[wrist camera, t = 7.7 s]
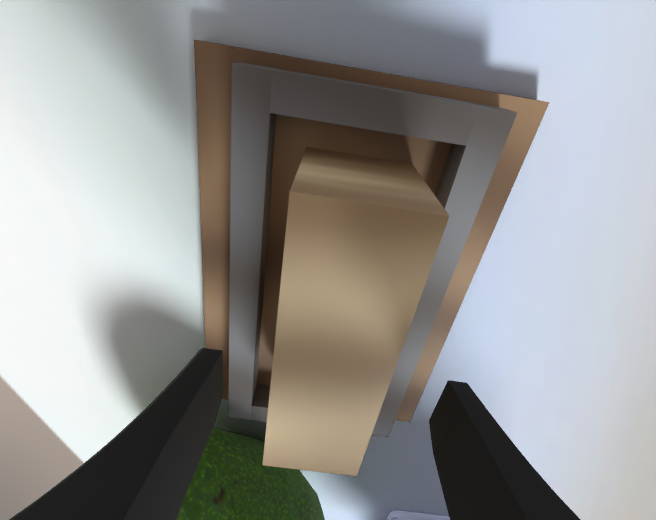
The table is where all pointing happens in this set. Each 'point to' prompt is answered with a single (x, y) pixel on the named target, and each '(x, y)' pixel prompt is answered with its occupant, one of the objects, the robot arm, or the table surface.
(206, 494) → the fruit
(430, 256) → the wooden block
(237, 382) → the channel
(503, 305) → the table surface
